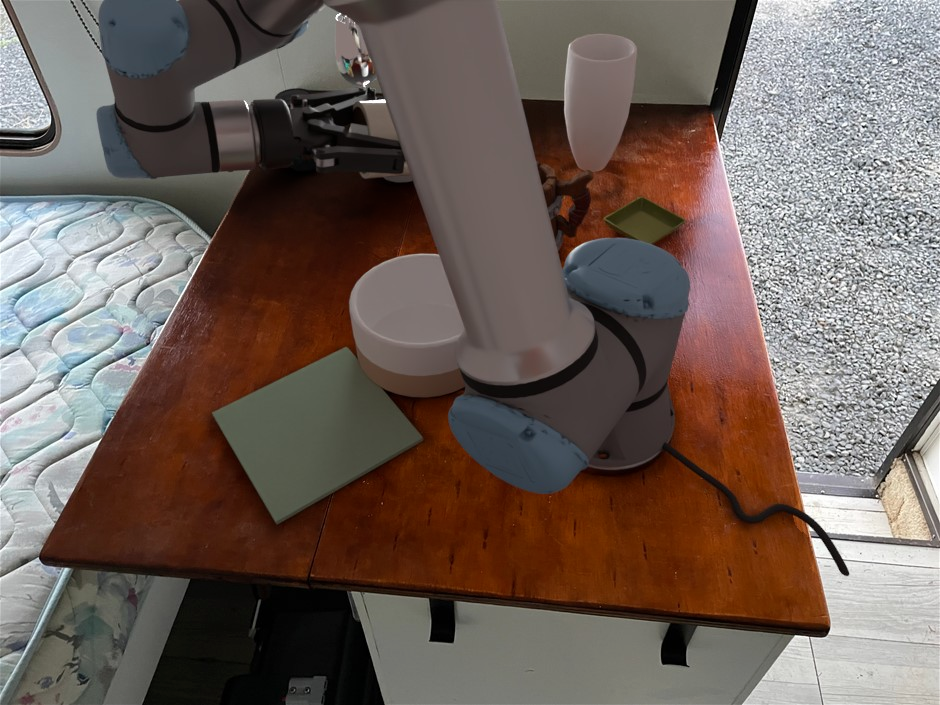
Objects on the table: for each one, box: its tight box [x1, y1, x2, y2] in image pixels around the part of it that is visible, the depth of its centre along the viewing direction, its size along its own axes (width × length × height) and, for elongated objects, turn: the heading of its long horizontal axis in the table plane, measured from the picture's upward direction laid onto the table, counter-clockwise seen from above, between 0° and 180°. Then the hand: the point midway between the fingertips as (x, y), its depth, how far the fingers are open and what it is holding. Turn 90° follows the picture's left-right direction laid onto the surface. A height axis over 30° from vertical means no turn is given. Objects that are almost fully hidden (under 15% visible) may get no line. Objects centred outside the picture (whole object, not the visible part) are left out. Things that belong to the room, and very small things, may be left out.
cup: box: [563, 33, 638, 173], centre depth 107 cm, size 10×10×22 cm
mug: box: [536, 160, 594, 252], centre depth 99 cm, size 12×14×15 cm
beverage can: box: [274, 87, 316, 173], centre depth 117 cm, size 7×7×12 cm
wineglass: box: [334, 13, 377, 132], centre depth 122 cm, size 8×8×20 cm
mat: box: [211, 346, 424, 526], centre depth 81 cm, size 18×18×1 cm
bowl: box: [348, 253, 465, 398], centre depth 87 cm, size 17×17×8 cm
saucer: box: [603, 196, 687, 245], centre depth 104 cm, size 9×9×2 cm
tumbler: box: [350, 100, 411, 180], centre depth 87 cm, size 11×9×9 cm
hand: (439, 124), depth 88 cm, fingers closed on tumbler, 9 cm apart
